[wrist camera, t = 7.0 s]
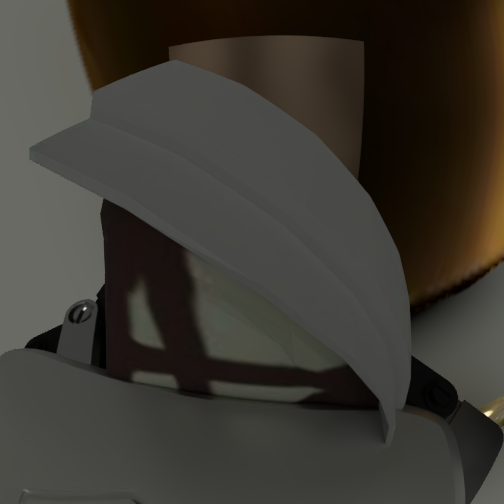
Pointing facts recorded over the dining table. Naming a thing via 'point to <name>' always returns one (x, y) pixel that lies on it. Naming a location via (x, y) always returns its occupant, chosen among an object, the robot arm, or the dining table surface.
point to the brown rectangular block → (296, 81)
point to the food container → (236, 247)
